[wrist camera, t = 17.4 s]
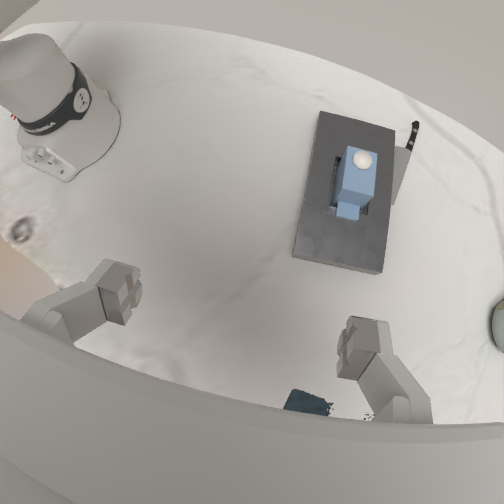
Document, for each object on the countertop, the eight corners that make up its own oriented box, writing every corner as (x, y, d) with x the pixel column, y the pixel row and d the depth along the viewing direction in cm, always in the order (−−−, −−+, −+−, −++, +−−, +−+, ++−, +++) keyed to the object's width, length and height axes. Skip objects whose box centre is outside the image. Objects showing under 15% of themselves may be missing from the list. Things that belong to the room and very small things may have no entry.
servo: (327, 221, 44) (341, 201, 36) (337, 159, 46) (350, 129, 37) (354, 227, 44) (373, 209, 35) (362, 165, 46) (380, 137, 37)
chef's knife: (370, 208, 45) (388, 217, 44) (372, 205, 44) (390, 215, 43) (403, 116, 47) (419, 124, 47) (405, 113, 46) (421, 120, 46)
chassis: (292, 256, 44) (293, 253, 41) (317, 121, 47) (319, 110, 44) (374, 274, 43) (382, 272, 40) (388, 139, 46) (395, 130, 43)
